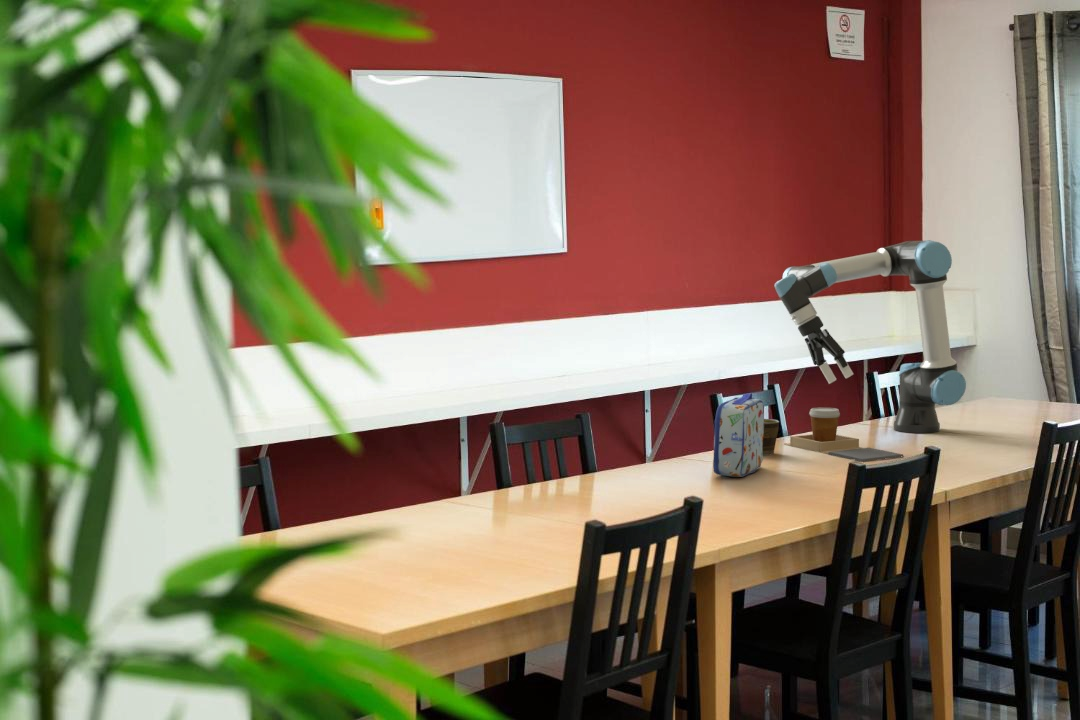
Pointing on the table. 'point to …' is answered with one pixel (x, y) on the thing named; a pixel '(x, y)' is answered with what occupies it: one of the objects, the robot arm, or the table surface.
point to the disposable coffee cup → (824, 423)
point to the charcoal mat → (865, 454)
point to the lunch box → (738, 436)
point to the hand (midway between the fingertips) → (841, 379)
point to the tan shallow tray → (824, 443)
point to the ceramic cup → (769, 436)
